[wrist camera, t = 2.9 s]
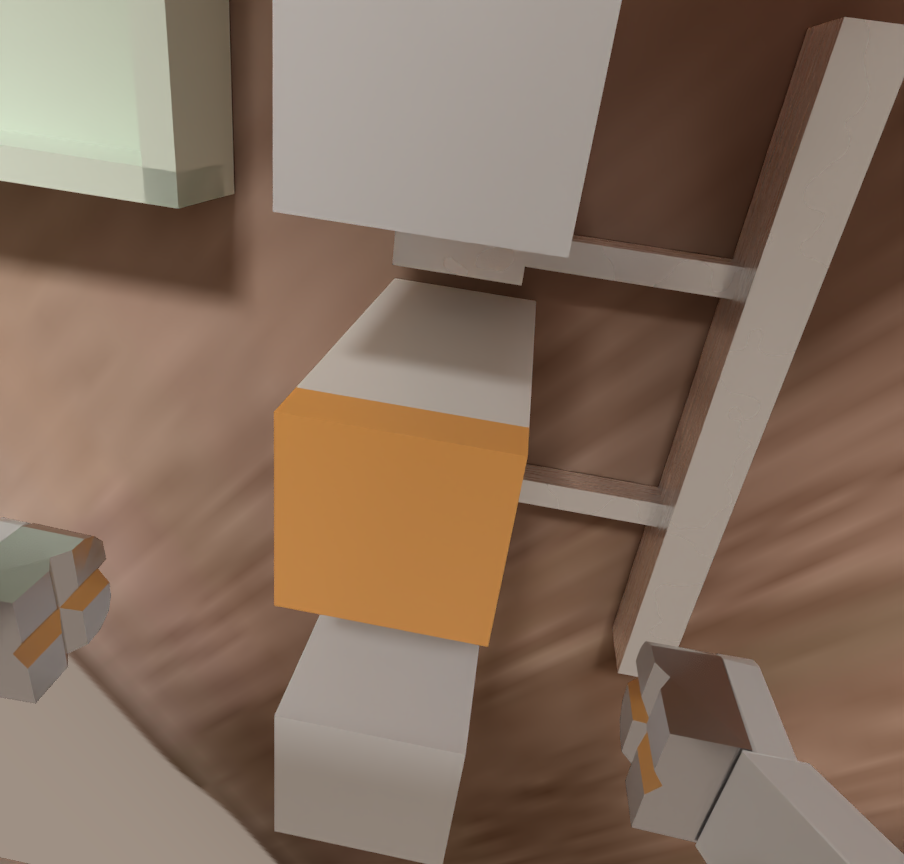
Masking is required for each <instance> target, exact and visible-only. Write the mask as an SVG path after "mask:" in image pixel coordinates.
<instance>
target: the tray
mask: <svg viewBox="0 0 904 864" xmlns="http://www.w3.org/2000/svg"><path fill="white" fill-rule="evenodd" d="M0 181H6V182H13V183H19V184H25V185H32V186H38V187H44V188H51V189H57V190H63V191H70V192H76V193H82V194H89V195H95V196H101V197H108V198H114V199H120V200H127V201H133V202H139V203H146V204H152V205H158V206H165V207H171V208H177V209H179V208H183V207H187V206H190V205H194V204H198V203H202V202H205V201H209V200H213V199H217V198H220V197H224V196H228V195H232V194H234V161H233V125H232V89H231V53H230V17H229V0H0Z"/></svg>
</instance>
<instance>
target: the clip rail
mask: <svg viewBox="0 0 904 864" xmlns="http://www.w3.org/2000/svg"><path fill="white" fill-rule="evenodd" d="M903 79H904V25H903V24H895V23H888V22H880V21H873V20H865V19H857V18H850V17H842V18H839V19H836V20H833V21H830V22H826V23H823V24H820V25H817V26H814V27H810V28H807V31H806V34H805V38H804V41H803V44H802V47H801V50H800V53H799V56H798V59H797V62H796V65H795V68H794V71H793V74H792V78H791V81H790V84H789V87H788V90H787V93H786V96H785V99H784V102H783V105H782V108H781V111H780V114H779V117H778V121H777V124H776V127H775V130H774V133H773V136H772V139H771V142H770V145H769V148H768V151H767V154H766V157H765V161H764V164H763V167H762V170H761V173H760V176H759V179H758V182H757V185H756V188H755V191H754V194H753V197H752V200H751V204H750V207H749V210H748V213H747V216H746V219H745V222H744V225H743V228H742V231H741V234H740V237H739V240H738V244H737V247H736V250H735V253H734V256H733V259H728V258H722V257H715V256H709V255H702V254H696V253H689V252H683V251H676V250H670V249H664V248H657V247H651V246H644V245H638V244H631V243H625V242H618V241H612V240H605V239H599V238H592V237H586V236H579V235H573V238H572V242H571V247H570V252H569V257H568V258H565V257H559V256H552V255H546V254H539V253H533V252H527V251H520V250H514V249H508V248H501V247H495V246H488V245H482V244H476V243H469V242H463V241H457V240H450V239H444V238H437V237H431V236H425V235H418V234H412V233H406V232H399V231H395V240H394V252H393V264H392V265H396V266H403V267H409V268H415V269H421V270H428V271H434V272H440V273H446V274H453V275H459V276H465V277H471V278H478V279H484V280H490V281H496V282H503V283H509V284H515V285H521V286H522V280H523V275H524V269H525V267H530V268H537V269H543V270H549V271H556V272H562V273H568V274H575V275H581V276H587V277H593V278H600V279H606V280H612V281H619V282H625V283H631V284H638V285H644V286H650V287H657V288H663V289H669V290H676V291H682V292H688V293H695V294H701V295H707V296H714V297H720V299H719V302H718V305H717V308H716V311H715V314H714V317H713V320H712V323H711V327H710V330H709V333H708V336H707V339H706V342H705V345H704V348H703V351H702V354H701V357H700V360H699V363H698V367H697V370H696V373H695V376H694V379H693V382H692V385H691V388H690V391H689V394H688V397H687V400H686V403H685V406H684V410H683V413H682V416H681V419H680V422H679V425H678V428H677V431H676V434H675V437H674V440H673V443H672V446H671V450H670V453H669V456H668V459H667V462H666V465H665V468H664V471H663V474H662V477H661V480H660V483H659V486H658V487H655V486H649V485H644V484H638V483H632V482H627V481H621V480H615V479H610V478H604V477H598V476H593V475H587V474H581V473H576V472H570V471H564V470H559V469H553V468H547V467H542V466H536V465H530V464H526V467H525V472H524V477H523V482H522V486H521V491H520V496H519V501H518V502H521V503H527V504H532V505H538V506H543V507H549V508H554V509H560V510H565V511H571V512H577V513H582V514H588V515H593V516H599V517H604V518H610V519H615V520H621V521H627V522H632V523H638V524H643V525H646V526H645V529H644V533H643V536H642V539H641V542H640V545H639V548H638V551H637V554H636V557H635V560H634V563H633V566H632V569H631V573H630V576H629V579H628V582H627V585H626V588H625V591H624V594H623V597H622V600H621V603H620V606H619V609H618V612H617V616H616V619H615V622H614V625H613V628H612V631H613V639H614V647H615V655H616V663H617V671H618V673H620V674H625V675H630V676H636V677H638V673H637V666H636V659H637V656H638V653H639V650H640V648H641V646H642V645H643V644H644V642H645V641H648V642H654V643H659V644H665V645H670V646H676V647H679V644H680V642H681V639H682V637H683V634H684V631H685V629H686V626H687V624H688V621H689V619H690V616H691V614H692V611H693V609H694V606H695V604H696V601H697V599H698V596H699V594H700V591H701V589H702V586H703V584H704V581H705V578H706V576H707V573H708V571H709V568H710V566H711V563H712V561H713V558H714V556H715V553H716V551H717V548H718V546H719V543H720V541H721V538H722V536H723V533H724V530H725V528H726V525H727V523H728V520H729V518H730V515H731V513H732V510H733V508H734V505H735V503H736V500H737V498H738V495H739V493H740V490H741V488H742V485H743V483H744V480H745V477H746V475H747V472H748V470H749V467H750V465H751V462H752V460H753V457H754V455H755V452H756V450H757V447H758V445H759V442H760V440H761V437H762V435H763V432H764V429H765V427H766V424H767V422H768V419H769V417H770V414H771V412H772V409H773V407H774V404H775V402H776V399H777V397H778V394H779V392H780V389H781V387H782V384H783V382H784V379H785V376H786V374H787V371H788V369H789V366H790V364H791V361H792V359H793V356H794V354H795V351H796V349H797V346H798V344H799V341H800V339H801V336H802V334H803V331H804V328H805V326H806V323H807V321H808V318H809V316H810V313H811V311H812V308H813V306H814V303H815V301H816V298H817V296H818V293H819V291H820V288H821V286H822V283H823V281H824V278H825V275H826V273H827V270H828V268H829V265H830V263H831V260H832V258H833V255H834V253H835V250H836V248H837V245H838V243H839V240H840V238H841V235H842V233H843V230H844V227H845V225H846V222H847V220H848V217H849V215H850V212H851V210H852V207H853V205H854V202H855V200H856V197H857V195H858V192H859V190H860V187H861V185H862V182H863V180H864V177H865V174H866V172H867V169H868V167H869V164H870V162H871V159H872V157H873V154H874V152H875V149H876V147H877V144H878V142H879V139H880V137H881V134H882V132H883V129H884V126H885V124H886V121H887V119H888V116H889V114H890V111H891V109H892V106H893V104H894V101H895V99H896V96H897V94H898V91H899V89H900V86H901V84H902V81H903Z"/></svg>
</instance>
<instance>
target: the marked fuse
mask: <svg viewBox="0 0 904 864" xmlns="http://www.w3.org/2000/svg"><path fill="white" fill-rule="evenodd" d="M535 316H536V301H533V300H527V299H521V298H515V297H508V296H502V295H496V294H490V293H484V292H477V291H471V290H465V289H459V288H453V287H446V286H440V285H434V284H428V283H422V282H415V281H409V280H403V279H397V278H394V280H393V281H392V282H391V283H390V284H389V285H388V286H387V287H386V288H385V290H384V291H383V292H382V293H381V294H380V295H379V296H378V297H377V298H376V300H375V301H374V302H373V303H372V304H371V305H370V306H369V307H368V308H367V309H366V311H365V312H364V313H363V314H362V315H361V316H360V317H359V318H358V319H357V321H356V322H355V323H354V324H353V325H352V326H351V327H350V328H349V329H348V331H347V332H346V333H345V334H344V335H343V336H342V337H341V338H340V339H339V340H338V342H337V343H336V344H335V345H334V346H333V347H332V348H331V349H330V350H329V352H328V353H327V354H326V355H325V356H324V357H323V358H322V359H321V360H320V362H319V363H318V364H317V365H316V366H315V367H314V368H313V369H312V370H311V371H310V373H309V374H308V375H307V376H306V377H305V378H304V379H303V380H302V381H301V383H300V384H299V385H298V386H297V387H296V388H295V389H294V390H293V391H292V393H291V394H290V395H289V396H288V397H287V398H286V399H285V400H284V401H283V402H282V404H281V405H280V406H279V407H278V408H277V409H276V410H275V411H274V606H279V607H285V608H290V609H295V610H300V611H305V612H310V613H316V614H321V615H326V616H331V617H336V618H341V619H346V620H352V621H357V622H362V623H367V624H372V625H377V626H382V627H388V628H393V629H398V630H403V631H408V632H413V633H419V634H424V635H429V636H434V637H439V638H444V639H449V640H455V641H460V642H465V643H470V644H475V645H480V646H486V647H488V644H489V639H490V635H491V630H492V625H493V620H494V616H495V611H496V606H497V601H498V596H499V592H500V587H501V582H502V577H503V573H504V568H505V563H506V558H507V553H508V549H509V544H510V539H511V534H512V530H513V525H514V520H515V515H516V510H517V506H518V501H519V496H520V491H521V486H522V482H523V477H524V472H525V467H526V463H527V458H528V443H529V425H530V407H531V389H532V370H533V352H534V334H535Z"/></svg>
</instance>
